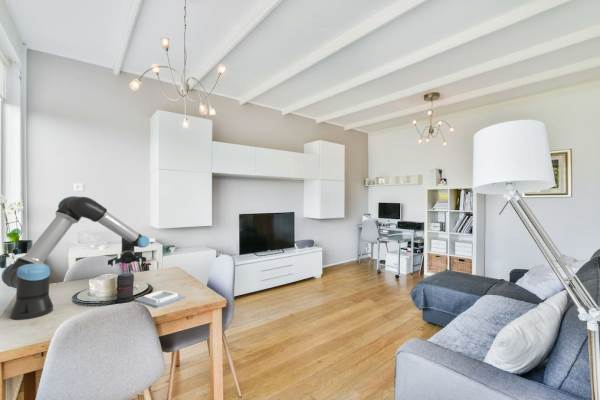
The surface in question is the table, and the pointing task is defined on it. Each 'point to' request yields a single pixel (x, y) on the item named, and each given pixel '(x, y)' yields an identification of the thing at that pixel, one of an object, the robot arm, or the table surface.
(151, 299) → the board
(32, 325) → the table surface
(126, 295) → the camera lens
